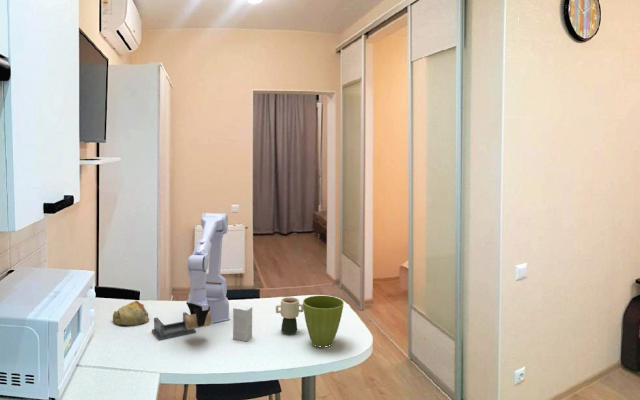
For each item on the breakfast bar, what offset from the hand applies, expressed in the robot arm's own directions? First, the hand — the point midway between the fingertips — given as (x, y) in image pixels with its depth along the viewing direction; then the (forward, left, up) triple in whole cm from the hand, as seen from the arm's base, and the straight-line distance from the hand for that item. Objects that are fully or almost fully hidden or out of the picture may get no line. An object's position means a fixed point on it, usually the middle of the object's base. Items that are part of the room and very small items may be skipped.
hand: (198, 323), depth 175 cm
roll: (0, 0, -2) cm, 2 cm away
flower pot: (-38, +25, -7) cm, 46 cm away
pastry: (+16, -32, -7) cm, 36 cm away
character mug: (-33, +10, -7) cm, 35 cm away
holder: (+5, -12, -7) cm, 15 cm away
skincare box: (-15, +6, -7) cm, 18 cm away
